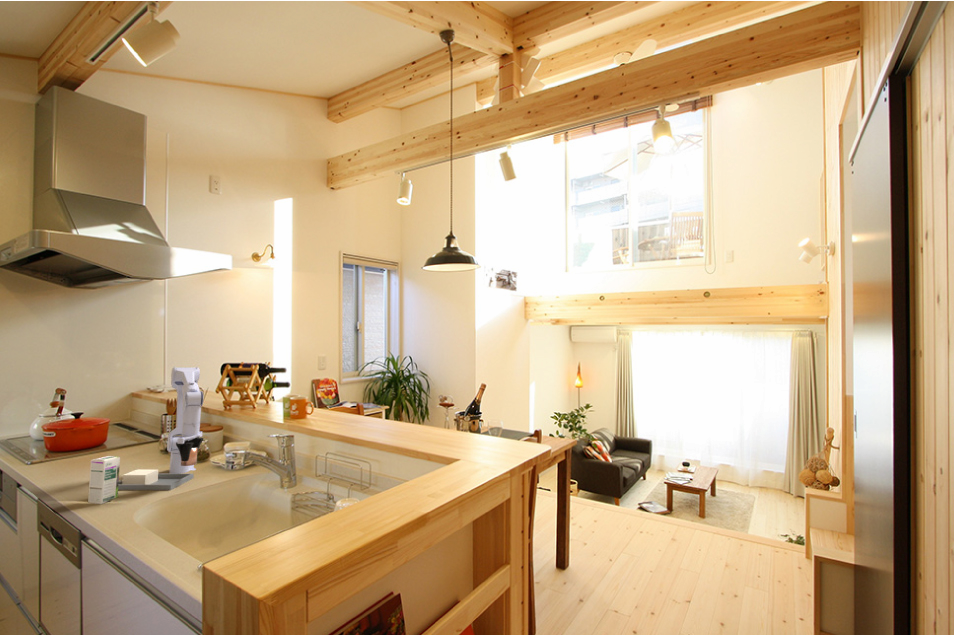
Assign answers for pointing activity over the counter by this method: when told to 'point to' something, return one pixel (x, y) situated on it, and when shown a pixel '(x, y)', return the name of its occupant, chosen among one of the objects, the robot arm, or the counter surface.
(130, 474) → the plain cream box
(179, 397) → the robot arm
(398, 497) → the counter surface
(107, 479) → the syrup box
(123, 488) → the tray
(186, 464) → the tin can
